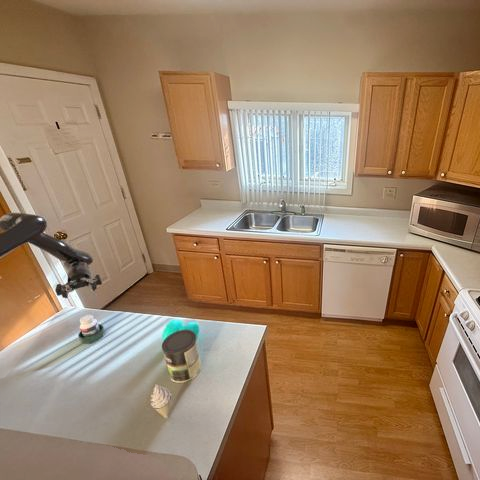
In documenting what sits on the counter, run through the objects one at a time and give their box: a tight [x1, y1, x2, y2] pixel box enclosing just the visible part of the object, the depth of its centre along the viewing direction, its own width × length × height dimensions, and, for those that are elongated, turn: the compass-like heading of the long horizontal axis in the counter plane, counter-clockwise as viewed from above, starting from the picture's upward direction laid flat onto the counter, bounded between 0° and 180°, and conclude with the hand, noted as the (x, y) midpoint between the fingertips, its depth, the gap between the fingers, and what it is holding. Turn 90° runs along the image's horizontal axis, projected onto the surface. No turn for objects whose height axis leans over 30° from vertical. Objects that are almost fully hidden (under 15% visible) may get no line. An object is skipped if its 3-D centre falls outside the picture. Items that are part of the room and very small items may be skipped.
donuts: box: [161, 318, 200, 342], centre depth 100 cm, size 10×10×10 cm
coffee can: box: [161, 330, 202, 384], centre depth 88 cm, size 10×10×14 cm
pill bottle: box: [79, 314, 100, 337], centre depth 101 cm, size 5×5×9 cm
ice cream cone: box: [149, 383, 173, 419], centre depth 73 cm, size 5×5×15 cm
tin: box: [77, 323, 106, 345], centre depth 102 cm, size 8×8×3 cm
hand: (79, 292), depth 104 cm, fingers open, 8 cm apart
